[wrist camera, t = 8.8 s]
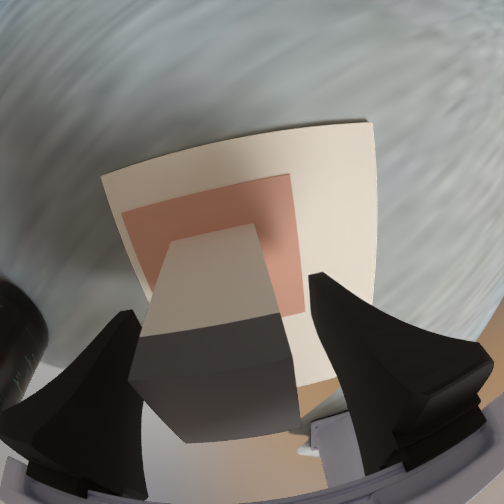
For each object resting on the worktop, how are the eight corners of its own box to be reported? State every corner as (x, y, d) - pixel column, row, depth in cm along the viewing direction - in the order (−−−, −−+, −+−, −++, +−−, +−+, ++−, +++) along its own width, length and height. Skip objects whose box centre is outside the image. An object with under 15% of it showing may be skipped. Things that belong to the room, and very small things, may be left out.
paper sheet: (360, 365, 20) (362, 369, 19) (204, 399, 20) (204, 404, 19) (368, 121, 11) (373, 122, 11) (103, 174, 11) (99, 177, 11)
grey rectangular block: (267, 291, 15) (301, 427, 7) (194, 306, 15) (185, 443, 7) (253, 222, 13) (292, 357, 6) (171, 241, 13) (127, 380, 6)
